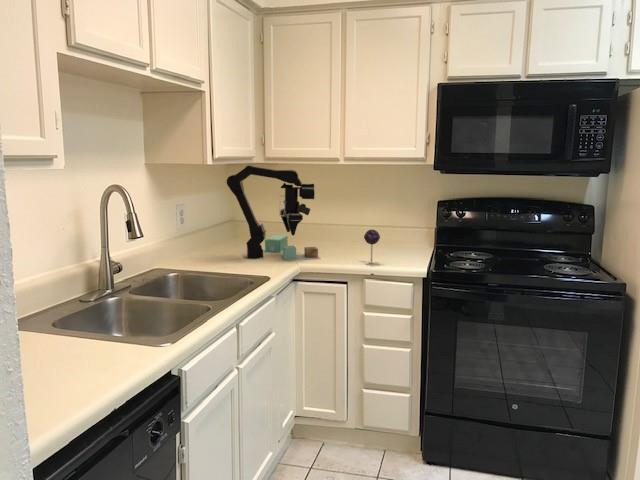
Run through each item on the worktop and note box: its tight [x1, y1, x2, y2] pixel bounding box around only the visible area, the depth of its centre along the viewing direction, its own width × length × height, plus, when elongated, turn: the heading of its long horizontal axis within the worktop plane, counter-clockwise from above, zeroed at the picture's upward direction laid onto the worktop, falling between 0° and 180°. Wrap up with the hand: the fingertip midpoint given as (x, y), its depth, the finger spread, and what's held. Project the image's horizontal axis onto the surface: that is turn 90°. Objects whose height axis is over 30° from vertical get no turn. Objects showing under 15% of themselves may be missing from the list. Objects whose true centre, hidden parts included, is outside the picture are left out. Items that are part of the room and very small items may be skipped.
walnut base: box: [304, 246, 319, 258], centre depth 241 cm, size 5×5×4 cm
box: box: [264, 234, 289, 254], centre depth 257 cm, size 7×14×8 cm, turn 167°
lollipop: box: [363, 229, 381, 265], centre depth 231 cm, size 7×7×15 cm
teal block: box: [282, 245, 297, 260], centre depth 238 cm, size 5×5×5 cm
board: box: [280, 253, 321, 262], centre depth 240 cm, size 16×12×1 cm
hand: (290, 233), depth 237 cm, fingers open, 9 cm apart
